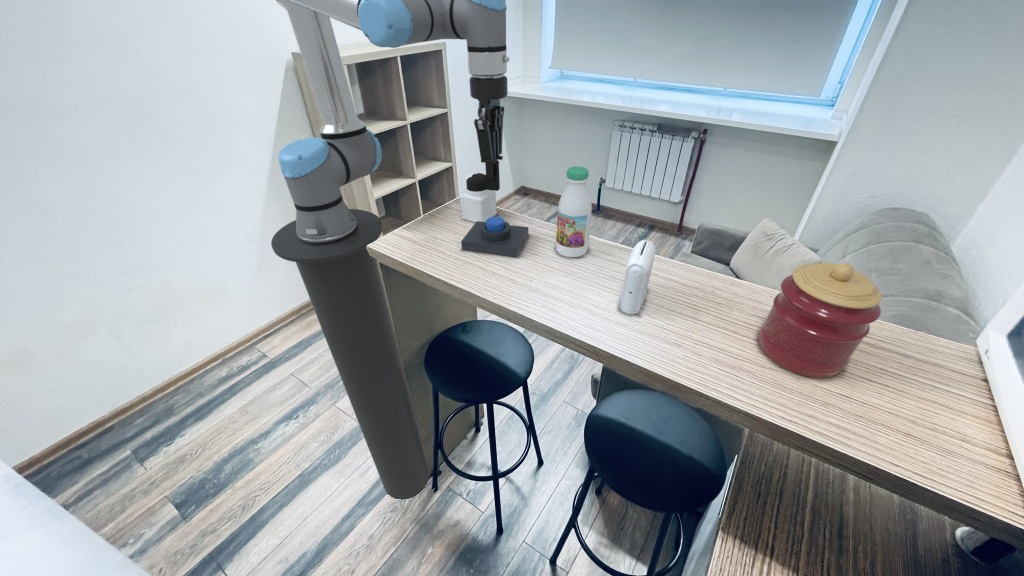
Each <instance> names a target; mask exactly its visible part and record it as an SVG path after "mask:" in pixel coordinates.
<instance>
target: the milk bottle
mask: <svg viewBox="0 0 1024 576" xmlns="http://www.w3.org/2000/svg"><path fill="white" fill-rule="evenodd" d="M588 180H589V169H588V168H586V167H584V166H570V167H569V168H567V170H566V181H567V182H566V186H565V187H564V190H563V192H562V194H561V196H560V198H559V201H558V206H557V215H556V216H557V219H556V233H555V249H556V252H557V253H558V254H559V255H561V256H564V257H566V258H580V257H582V256H585V255H586V253H587V252H588V251H589V245H590V244H589V242H590V232H591V222H592V211H593V205H592V199H591V195H590V193H589V189H588V185H587V182H588Z"/></svg>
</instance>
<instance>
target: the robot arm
mask: <svg viewBox="0 0 1024 576" xmlns="http://www.w3.org/2000/svg"><path fill="white" fill-rule="evenodd" d="M275 1H276V3H277V4H278V5H279V6H280V7H282V8H283V9H284V10H285V11H286V12H287V15H288V18H289V21H290V24H291V27H292V31H293V33H294V36H295V40H296V43H297V46H298V50H299V52H300V56H301V58H302V62H303V65H304V68H305V71H306V73H307V77H308V80H309V83H310V86H311V89H312V93H313V96H314V99H315V102H316V105H317V108H318V111H319V114H320V118H321V121H322V125H321V127H320V129H319V134H320V137H316V136H314V137H313V136H312V137H306V138H303V139H297V140H294V141H291V142H290V143H288V144H286V145H284V146H283V147H281V149H280V150H279V152H278V158H277V159H278V162H279V166H280V172H281V174H282V176H283V178H284V180H285V183H286V186H287V188H288V192H289V194H290V197H291V200H292V203H293V205H294V208H295V220H296V233H297V236H298V239H299V240H300V241H301V242H302V243H305V244H309V245H326V244H331V243H335V242H339V241H341V240H344V239H346V238H348V237H350V236H351V235H352V234H354V233H355V232H356V230H357V228H358V226H357V222H356V219H355V217H354V216H353V214H352V213H351V211H350V210H349V209H350V208H349V207H348V206H347V204H346V202H345V201H344V198H343V195H342V191H341V187H343V186H345V185H347V184H350V183H352V182H354V181H356V180H359V179H360V178H364V177H367V176H369V175H370V174H371V173H373V172H375V171H376V170H377V169H378V168H379V166H380V165H381V162H382V156H383V154H382V153H383V152H382V147H381V143H380V141H379V139H378V137H375V134H374V132H373V131H371V130H370V129H368V128H367V126H366V123H365V122H363V121H362V120H360V119H359V118H358V114H357V111H356V108H355V103H354V100H353V97H352V93H351V90H350V89H351V88H350V85H349V82H348V78H347V75H346V71H345V67H344V64H343V60H342V56H341V52H340V49H339V46H338V42H337V39H336V36H335V35H336V34H335V31H334V28H333V24H332V20H331V19H333V20H335V21H337V22H340V23H343V24H344V25H347V26H349V27H352V28H354V29H356V30H359V31H360V32H362V33H363V35H364V36H365V37H366V38H367V39H368V41H369V42H370V43H371V44H372V45H374V46H376V47H378V48H390V49H391V48H392V49H395V48H400V47H402V46H408V45H413V44H414V45H415V44H419V43H425V42H426V43H427V42H433V41H440V40H466V47H467V49H466V50H467V51H466V52H467V67H468V68H467V69H468V74H469V75H470V78H469V91H470V92H469V94H470V97H471V98H472V99H474V100H477V101H478V108H477V117H478V118H476V119H474V121H473V125H474V127H475V131H476V136H477V142H478V149H479V155H480V162H481V163H484V164H485V175H486V185H487V190H493V191H495V192H499V191H500V189H501V184H500V183H501V182H500V180H501V179H500V161H503V159H504V156H503V155H502V154H503V137H504V136H503V133H504V131H503V130H504V115H505V106H502V105H501V100H503V99H505V98H506V97H507V96H508V94H509V93H508V92H509V91H508V77H507V76H506V75H505V74H506V73H508V65H507V64H508V62H510V57H509V56H508V55H507V53H508V52H507V9H508V7H507V2H506V0H275Z"/></svg>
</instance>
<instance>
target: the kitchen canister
mask: <svg viewBox="0 0 1024 576" xmlns="http://www.w3.org/2000/svg"><path fill="white" fill-rule="evenodd" d="M780 290H781V292H779V293H778V294H776V295H775V297H774V299H773V302H772V303H773V304H772V306H771V309H770V310H769V313H768V314H767V317H766V319H765V321H764V322H763V323H762V325H761V327H760V329H759V336H758V343H759V346H760V348H761V350H762V351H763V353H765V355H766V356H767V357H768V358H769V359H770V360H771V361H773V362H774V363H776V364H777V365H779V366H781V367H782V368H783V369H786V370H787V371H790V372H793V373H795V374H797V375H802V376H804V377H805V376H806V377H810V378H820V379H822V378H831V377H835V376H836V375H838V374H839V373H840V372H841V371H842V370H844V369H845V368H846V367H847V366H848V364H849V363H850V361H851V359H852V356H853V355H854V353H855V351H856V350H857V349H858V347H859V346H860V344H861V343H862V341H863V339H864V338H866V337H867V336H868V335H869V334H870V331H871V330H870V329H871V327H870V325H871V324H872V323H874V322H876V321H877V320H879V318H880V317H881V314H882V310H881V309H882V308H881V306H880V303H881V302H882V300H883V294H882V292H881V290H880V289H879V287H877V285H876V284H875V283H874V282H872V280H871V279H870V278H869V277H868V276H866V275H865V274H863V273H862V272H860V271H857V270H855V269H854V267H853V266H852V265H851V264H849V263H846V262H841V263H830V262H817V263H807V264H803V265H799V266H797V267H796V268H795V269H794V270H793V272H792V274H791V275H788V276H786V277H784V279H783V280H782V281H781V283H780Z"/></svg>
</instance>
